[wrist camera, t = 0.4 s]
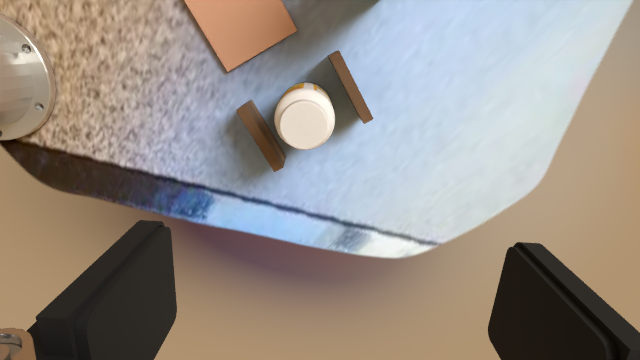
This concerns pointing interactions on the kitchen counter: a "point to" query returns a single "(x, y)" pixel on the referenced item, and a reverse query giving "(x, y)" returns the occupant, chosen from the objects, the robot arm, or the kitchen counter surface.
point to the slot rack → (264, 134)
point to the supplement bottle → (305, 116)
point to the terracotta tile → (241, 26)
